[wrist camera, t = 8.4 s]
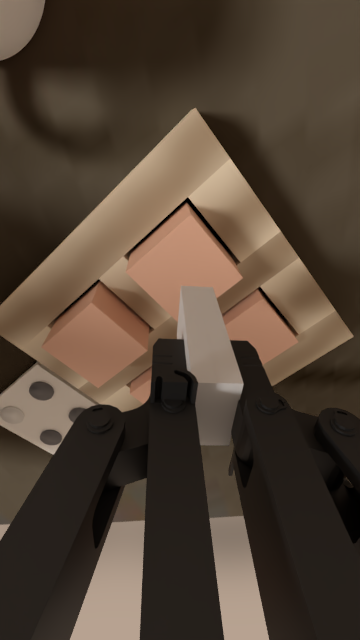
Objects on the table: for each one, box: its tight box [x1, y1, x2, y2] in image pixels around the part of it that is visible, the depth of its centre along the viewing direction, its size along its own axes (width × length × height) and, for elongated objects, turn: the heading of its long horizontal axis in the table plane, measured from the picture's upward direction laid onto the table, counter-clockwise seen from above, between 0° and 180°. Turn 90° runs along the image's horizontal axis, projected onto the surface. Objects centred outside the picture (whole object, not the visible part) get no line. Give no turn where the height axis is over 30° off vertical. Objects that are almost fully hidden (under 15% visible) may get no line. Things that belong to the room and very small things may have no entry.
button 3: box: [126, 202, 243, 322], centre depth 20 cm, size 5×5×4 cm
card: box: [0, 362, 99, 455], centre depth 31 cm, size 9×9×1 cm
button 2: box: [130, 366, 152, 404], centre depth 28 cm, size 5×5×4 cm
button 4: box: [222, 288, 298, 365], centre depth 25 cm, size 5×5×4 cm
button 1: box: [41, 280, 149, 388], centre depth 23 cm, size 5×5×4 cm
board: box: [0, 108, 354, 412], centre depth 25 cm, size 20×20×3 cm
